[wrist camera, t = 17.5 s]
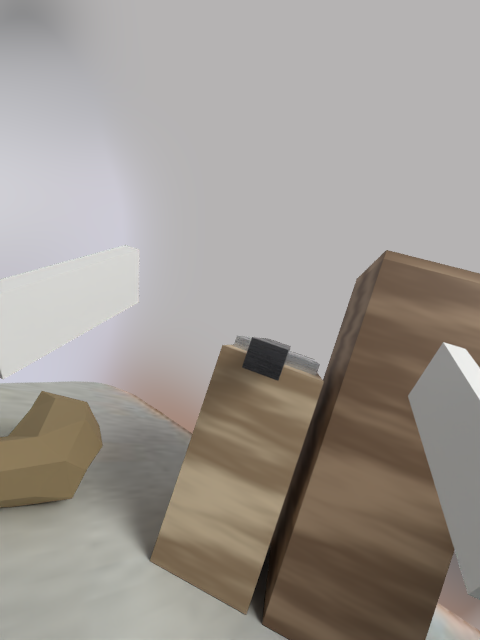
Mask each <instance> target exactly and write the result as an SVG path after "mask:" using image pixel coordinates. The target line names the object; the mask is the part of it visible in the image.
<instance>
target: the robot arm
mask: <svg viewBox="0 0 480 640" xmlns="http://www.w3.org/2000/svg"><path fill="white" fill-rule="evenodd" d="M138 302H139V249H136V248H132V247H129V246H126V245H124V246H121V247H117V248H113V249H110V250H106V251H102V252H99V253H95V254H91V255H88V256H84V257H80V258H77V259H73V260H69V261H66V262H62V263H58V264H55V265H51V266H47V267H44V268H40V269H36V270H33V271H29V272H25V273H22V274H18V275H15V276H11V277H7V278H3V279H0V378H1V379H5V378H6V377H8V376H10V375H12V374H13V373H15V372H17V371H19V370H20V369H22V368H24V367H26V366H27V365H29V364H31V363H33V362H34V361H36V360H38V359H40V358H42V357H43V356H45V355H47V354H49V353H50V352H52V351H54V350H56V349H57V348H59V347H61V346H63V345H64V344H66V343H68V342H70V341H71V340H73V339H75V338H77V337H78V336H80V335H82V334H84V333H86V332H87V331H89V330H91V329H93V328H94V327H96V326H98V325H100V324H101V323H103V322H105V321H107V320H108V319H110V318H112V317H114V316H115V315H117V314H119V313H121V312H122V311H124V310H126V309H128V308H129V307H131V306H133V305H135V304H137V303H138ZM408 398H409V401H410V405H411V408H412V411H413V414H414V418H415V421H416V424H417V428H418V431H419V434H420V438H421V441H422V444H423V447H424V451H425V454H426V457H427V461H428V464H429V467H430V471H431V474H432V477H433V480H434V484H435V487H436V490H437V494H438V497H439V500H440V504H441V507H442V510H443V514H444V517H445V520H446V523H447V527H448V530H449V533H450V537H451V540H452V543H453V547H454V550H455V553H456V556H457V560H458V563H459V566H460V570H461V573H462V576H463V580H464V583H465V586H466V589H467V593H468V595H471V596H473V597H475V598H477V599H479V600H480V368H479V366H478V365H477V364H476V362H475V361H474V359H473V358H472V357H471V355H470V354H469V353H468V351H467V350H466V349H464V348H461V347H458V346H454V345H451V344H448V343H444V342H443V343H442V345H441V346H440V348H439V349H438V351H437V352H436V354H435V355H434V357H433V359H432V360H431V362H430V363H429V365H428V366H427V368H426V369H425V371H424V372H423V374H422V375H421V377H420V378H419V380H418V381H417V383H416V385H415V386H414V388H413V389H412V391H411V392H410V394H409V395H408Z"/></svg>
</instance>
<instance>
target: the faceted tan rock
mask: <svg viewBox="0 0 480 640" xmlns="http://www.w3.org/2000/svg"><path fill="white" fill-rule="evenodd" d="M102 446H103V445H102V439H101V434H100V428H99V425H98V423H97V421H96V419H95V417H94V415H93V413H92V411H91V409H90V407H89V405H88V403H87V402H84V401H80V400H76V399H72V398H68V397H64V396H60V395H56V394H52V393H48V392H44V391H42V392H41V393H40V395H39V396H38V398H37V400H36V401H35V403H34V405H33V406H32V408H31V409H30V411H29V412H28V413H27V414H26V415H25V417H24V418H23V419H22V420H21V421H20V423H19V424H18V425H17V426H16V427H15V429H14V430H13V431H12V432H11V433H10V435H9V436H7V437H0V508H2V507H16V506H23V505H30V504H37V503H44V502H51V501H58V500H65V499H72V497H73V496H74V494H75V492H76V490H77V488H78V486H79V484H80V482H81V480H82V478H83V476H84V474H85V472H86V470H87V469H88V467H89V465H90V464H91V462H92V461H93V459H94V458H95V456H96V455H97V454H98V452H99V451H100V449H101V448H102Z"/></svg>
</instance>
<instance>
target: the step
mask: <svg viewBox="0 0 480 640" xmlns="http://www.w3.org/2000/svg"><path fill="white" fill-rule="evenodd" d="M246 354H247V351H245V350H242V349H239V348H236V347H234V345H223V346H222V349H221V351H220V354H219V357H218V360H217V363H216V366H215V369H214V372H213V375H212V378H211V381H210V384H209V387H208V390H207V393H206V396H205V399H204V402H203V405H202V408H201V411H200V413H199V417H198V419H197V422H196V425H195V428H194V431H193V434H192V437H191V440H190V443H189V446H188V449H187V452H186V455H185V458H184V461H183V464H182V467H181V470H180V473H179V476H178V479H177V482H176V485H175V488H174V491H173V493H172V496H171V499H170V502H169V505H168V508H167V511H166V514H165V517H164V520H163V523H162V526H161V529H160V532H159V535H158V538H157V541H156V544H155V547H154V550H153V553H152V556H151V559H150V561H151V562H153V563H155V564H156V565H158V566H160V567H162V568H164V569H165V570H167V571H169V572H171V573H172V574H174V575H176V576H178V577H180V578H181V579H183V580H185V581H187V582H188V583H190V584H192V585H194V586H196V587H197V588H199V589H201V590H203V591H205V592H206V593H208V594H210V595H212V596H213V597H215V598H217V599H219V600H221V601H222V602H224V603H226V604H228V605H230V606H231V607H233V608H235V609H237V610H238V611H240V612H242V613H244V614H247V611H248V608H249V605H250V602H251V599H252V596H253V593H254V590H255V587H256V584H257V581H258V578H259V575H260V572H261V569H262V566H263V563H264V560H265V557H266V554H267V551H268V548H269V545H270V542H271V539H272V536H273V533H274V530H275V527H276V524H277V521H278V518H279V515H280V512H281V509H282V506H283V503H284V500H285V497H286V494H287V491H288V488H289V485H290V482H291V479H292V476H293V473H294V470H295V467H296V464H297V461H298V458H299V455H300V452H301V449H302V446H303V443H304V440H305V437H306V434H307V431H308V428H309V425H310V422H311V419H312V416H313V413H314V410H315V407H316V404H317V401H318V398H319V395H320V392H321V389H322V386H323V383H324V381H323V380H322V379H321V377H320V376H319V375H318V374H316V376H315V375H312V374H309V373H306V372H304V371H301V370H298V369H295V368H292V367H290V366H287V365H284V367H283V370H282V373H281V375H280V378H279V380H278V381H277V380H274V379H272V378H269V377H266V376H264V375H261V374H258V373H256V372H253V371H250V370H248V369H245V368H242V366H243V363H244V360H245V357H246Z"/></svg>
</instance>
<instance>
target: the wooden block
mask: <svg viewBox="0 0 480 640" xmlns="http://www.w3.org/2000/svg"><path fill="white" fill-rule="evenodd" d="M443 342H444V343H448V344H451V345H454V346H458V347H461V348H464V349H466V350H467V351H468V353H469V354H470V355H471V357H472V358H473V359H474V361H475V362H476V364H477V365H478V366H479V368H480V274H479V273H475V272H471V271H467V270H463V269H460V268H455V267H451V266H448V265H443V264H440V263H436V262H431V261H428V260H424V259H420V258H416V257H412V256H408V255H404V254H400V253H396V252H392V251H388V250H387V251H385V252H384V253H383V254H382V255H381V256H380V257H379V258H378V259H377V260H376V261H375V262H374V263H373V264H372V265H371V266H370V267H369V268H368V269H367V270H366V271H365V272H364V273H363V274H362V275H361V276H359V277H358V278H357V280H356V283H355V286H354V289H353V292H352V295H351V298H350V301H349V304H348V307H347V310H346V313H345V316H344V319H343V322H342V325H341V328H340V331H339V335H338V337H337V340H336V343H335V346H334V349H333V352H332V355H331V358H330V361H329V364H328V367H327V370H326V373H325V376H324V379H323V381H324V383H323V386H322V389H321V392H320V395H319V398H318V401H317V404H316V407H315V410H314V413H313V416H312V419H311V422H310V425H309V428H308V431H307V434H306V437H305V440H304V443H303V446H302V449H301V452H300V455H299V458H298V461H297V464H296V467H295V470H294V473H293V476H292V479H291V482H290V485H289V488H288V491H287V494H286V497H285V500H284V503H283V506H282V509H281V512H280V515H279V518H278V521H277V524H276V527H275V530H274V533H273V536H272V539H271V548H270V557H269V566H268V575H267V584H266V593H265V602H264V611H263V620H262V624H263V625H264V626H266V627H268V628H270V629H271V630H273V631H275V632H277V633H279V634H280V635H282V636H284V637H286V638H287V639H289V640H425V639H426V636H427V633H428V630H429V626H430V623H431V620H432V617H433V614H434V611H435V608H436V605H437V602H438V599H439V596H440V593H441V590H442V586H443V584H444V580H445V577H446V574H447V571H448V568H449V565H450V562H451V559H452V556H453V553H454V547H453V543H452V540H451V537H450V533H449V530H448V527H447V523H446V520H445V517H444V514H443V510H442V507H441V504H440V500H439V497H438V494H437V490H436V487H435V484H434V480H433V477H432V474H431V471H430V467H429V464H428V461H427V457H426V454H425V451H424V447H423V444H422V441H421V438H420V434H419V431H418V428H417V424H416V421H415V418H414V414H413V411H412V408H411V405H410V401H409V398H408V395H409V394H410V392H411V391H412V389H413V388H414V386H415V385H416V383H417V381H418V380H419V378H420V377H421V375H422V374H423V372H424V371H425V369H426V368H427V366H428V365H429V363H430V362H431V360H432V359H433V357H434V355H435V354H436V352H437V351H438V349H439V348H440V346H441V345H442V343H443Z"/></svg>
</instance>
